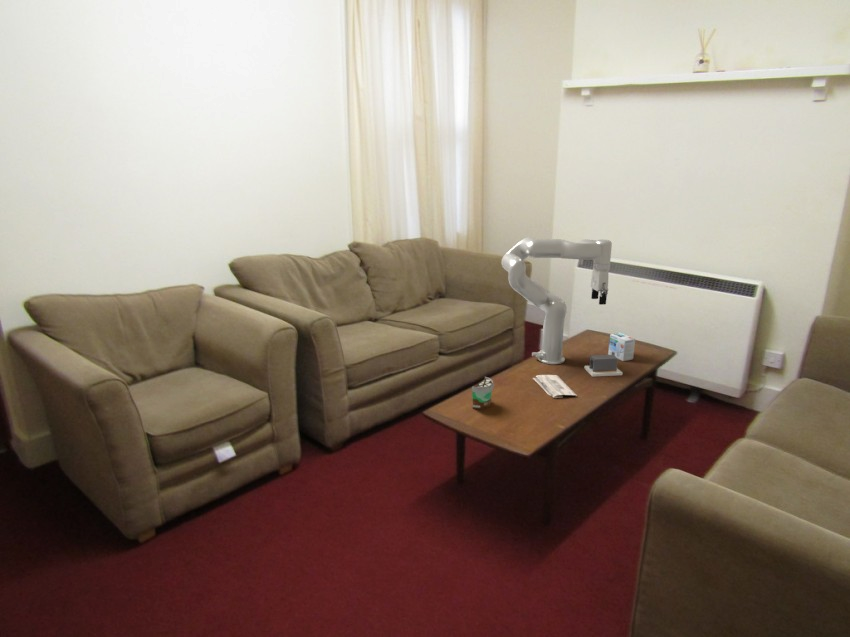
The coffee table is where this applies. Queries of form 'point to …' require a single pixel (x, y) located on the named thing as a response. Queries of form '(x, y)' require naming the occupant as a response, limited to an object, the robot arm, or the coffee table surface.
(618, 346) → the light bulb box
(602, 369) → the block
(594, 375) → the board
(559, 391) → the newspaper
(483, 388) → the food container
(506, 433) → the coffee table surface
